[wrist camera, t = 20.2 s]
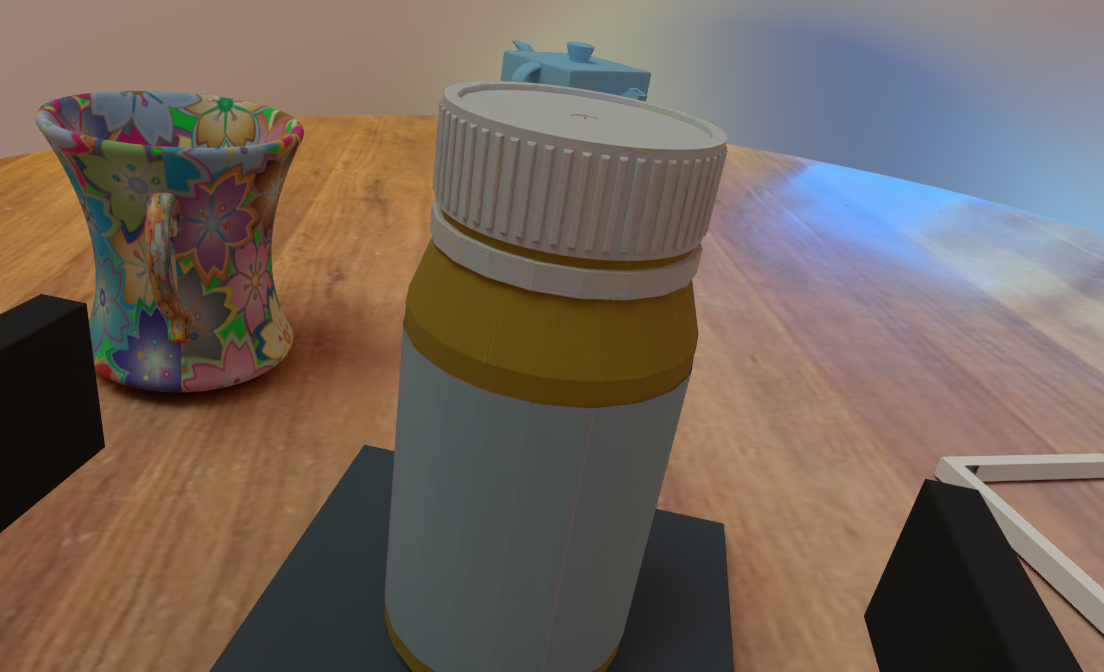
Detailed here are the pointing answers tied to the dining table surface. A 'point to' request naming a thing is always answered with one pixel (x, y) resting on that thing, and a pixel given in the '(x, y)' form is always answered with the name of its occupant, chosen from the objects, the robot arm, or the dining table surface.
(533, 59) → the teapot
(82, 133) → the mug
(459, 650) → the bottle
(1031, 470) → the photo frame
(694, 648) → the mat
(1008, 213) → the dining table surface
